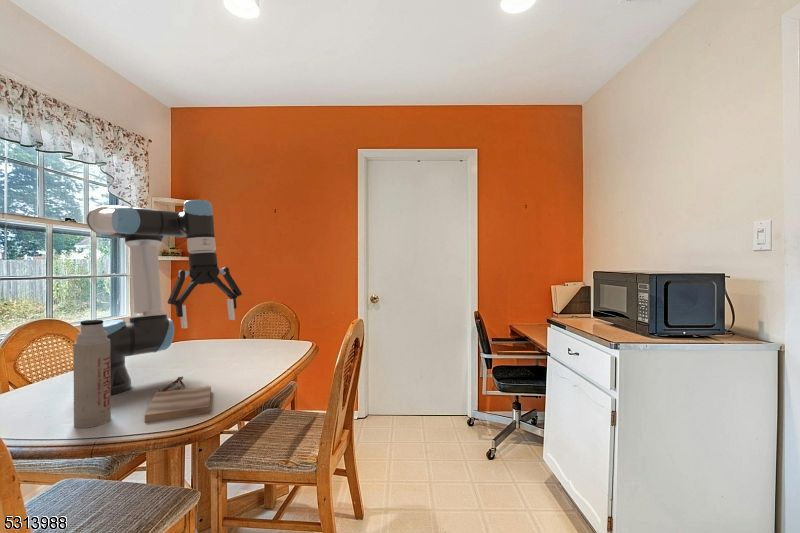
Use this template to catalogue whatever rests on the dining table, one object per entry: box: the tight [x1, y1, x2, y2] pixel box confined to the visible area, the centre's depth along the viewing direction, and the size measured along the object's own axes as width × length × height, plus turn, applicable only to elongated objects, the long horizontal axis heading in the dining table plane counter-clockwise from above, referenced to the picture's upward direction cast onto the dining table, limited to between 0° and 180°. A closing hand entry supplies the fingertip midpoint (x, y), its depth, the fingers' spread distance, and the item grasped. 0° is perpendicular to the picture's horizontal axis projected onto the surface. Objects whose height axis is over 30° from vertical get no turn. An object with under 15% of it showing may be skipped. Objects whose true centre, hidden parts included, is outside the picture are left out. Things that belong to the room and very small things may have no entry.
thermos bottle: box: [72, 319, 112, 429], centre depth 107 cm, size 8×8×28 cm
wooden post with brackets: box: [158, 376, 186, 392], centre depth 133 cm, size 2×8×4 cm, turn 144°
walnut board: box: [144, 385, 212, 423], centre depth 120 cm, size 20×16×2 cm
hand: (209, 323), depth 116 cm, fingers open, 13 cm apart
